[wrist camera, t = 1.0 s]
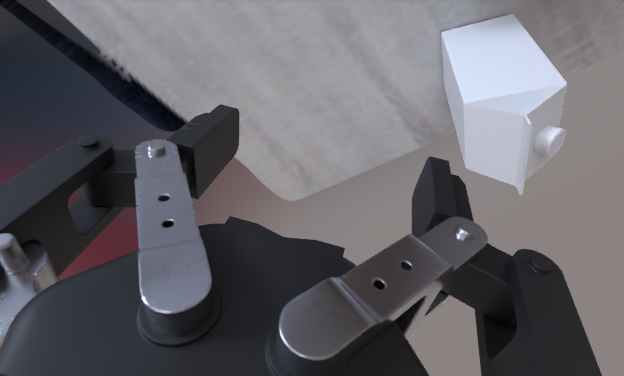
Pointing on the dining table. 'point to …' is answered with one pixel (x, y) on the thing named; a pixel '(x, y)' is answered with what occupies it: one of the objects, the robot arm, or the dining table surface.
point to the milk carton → (502, 99)
